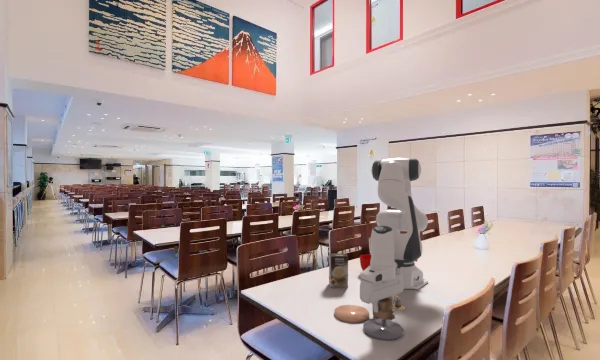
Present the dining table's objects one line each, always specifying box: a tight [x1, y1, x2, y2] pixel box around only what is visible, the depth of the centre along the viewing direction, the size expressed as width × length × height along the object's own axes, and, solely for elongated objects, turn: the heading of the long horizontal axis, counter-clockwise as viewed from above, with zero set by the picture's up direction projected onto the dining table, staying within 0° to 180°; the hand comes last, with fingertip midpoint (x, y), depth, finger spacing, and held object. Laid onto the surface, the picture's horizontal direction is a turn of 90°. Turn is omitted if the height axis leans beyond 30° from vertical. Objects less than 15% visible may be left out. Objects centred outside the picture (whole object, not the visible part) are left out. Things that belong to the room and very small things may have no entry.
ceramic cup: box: [359, 253, 371, 271], centre depth 180 cm, size 13×17×10 cm
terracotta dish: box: [333, 304, 370, 324], centre depth 124 cm, size 14×14×1 cm
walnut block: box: [372, 298, 394, 320], centre depth 111 cm, size 5×5×6 cm
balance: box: [372, 294, 406, 320], centre depth 122 cm, size 7×18×14 cm, turn 35°
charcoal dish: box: [362, 318, 404, 342], centre depth 111 cm, size 14×14×1 cm
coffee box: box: [328, 253, 349, 288], centre depth 159 cm, size 9×6×16 cm
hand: (382, 309), depth 111 cm, fingers closed on walnut block, 5 cm apart
